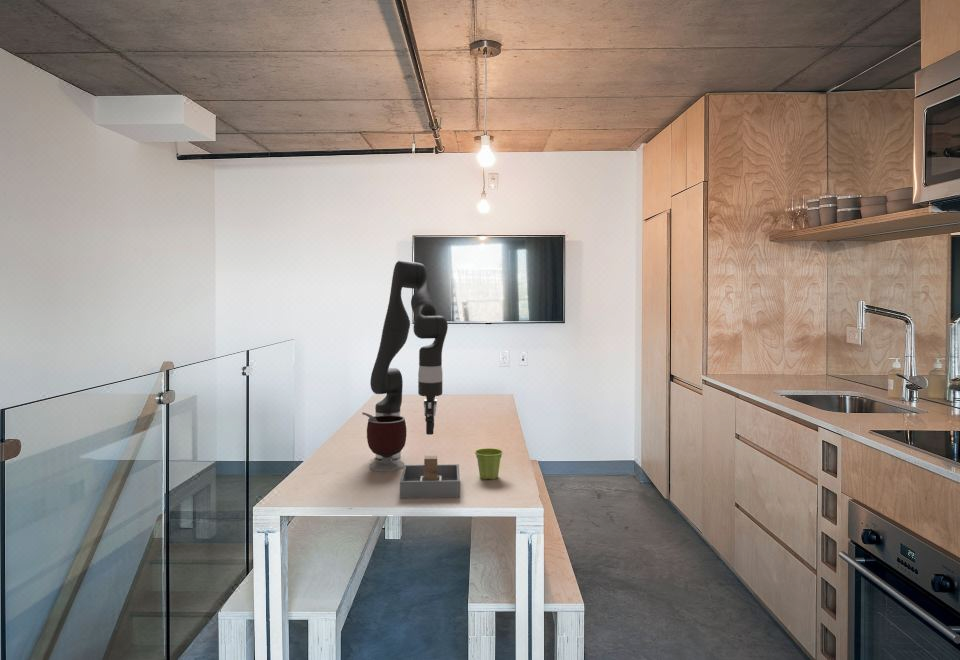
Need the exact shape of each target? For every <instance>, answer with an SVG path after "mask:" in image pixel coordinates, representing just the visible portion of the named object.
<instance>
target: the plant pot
mask: <svg viewBox="0 0 960 660" xmlns="http://www.w3.org/2000/svg"><path fill="white" fill-rule="evenodd" d="M503 453H504V451H503V450H501V449H500V448H499V449H498V448H491V447H490V448H488V447H487V448H478V449H476V450H475V451H474V454H475V456H476V459H477V465H478V472H479V473H478V474H479V477H480V478H481V479H483V480H488V479H489V480H495V479H498V478H499V472H500V471H499V470H500V464H501V458H502V454H503Z"/></svg>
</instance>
